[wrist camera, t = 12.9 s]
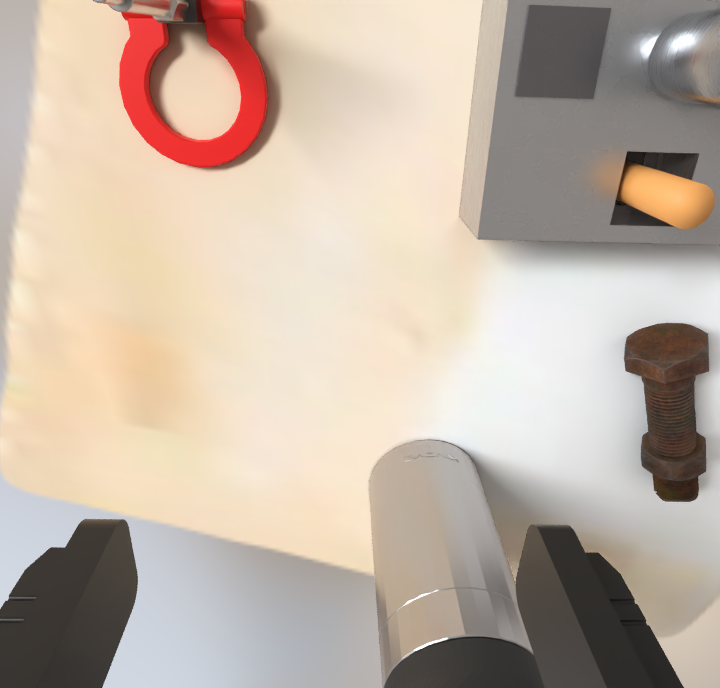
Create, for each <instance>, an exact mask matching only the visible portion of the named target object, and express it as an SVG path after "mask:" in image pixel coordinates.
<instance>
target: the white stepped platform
mask: <svg viewBox="0 0 720 688" xmlns="http://www.w3.org/2000/svg"><path fill="white" fill-rule="evenodd" d="M627 151H632V152H646V154H645V158H644V162H643V166H646V167H650V168H653V169H656V170H659V171H663V172H666V173H669V174H672V175H676V176H679V177H682V178H685V179H689V180H692V181H695V182H698V183H702V184H705V185H707V186H708V187H710V188H711V189H712V191H713V193H714V196H715V205H714V208H713V211H712V213H711V215H710V216H709V217H708V219H707V220H706V221H705V222H703V223H702V224H701V225H699V226H697V227H695V228H692V229H680V228H677V227H675V226H673V225H671V224H668V223H666V222H664V221H662V220H660V219H658V218H655V217H653V216H651V215H649V214H647V213H645V212H642V211H640V210H638V209H636V208H634V207H632V206H622V205H615V201H616V197H617V193H618V188H619V184H620V180H621V176H622V171H623V167H624V163H625V159H626V154H627ZM459 217H460V219H461V220H462V221H463V222H464V224H465V225H466V226H467V227H468V228H469V230H470V231H471V232H472V233H473V235H474V236H475V237H476V238H477V239H483V240H526V241H570V242H614V243H658V244H702V245H720V0H483V5H482V14H481V23H480V32H479V41H478V50H477V59H476V68H475V77H474V85H473V94H472V103H471V112H470V121H469V130H468V139H467V148H466V157H465V166H464V175H463V184H462V193H461V202H460V211H459Z"/></svg>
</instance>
